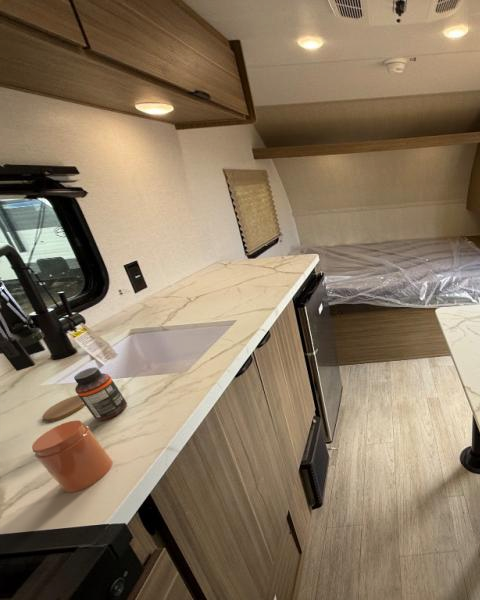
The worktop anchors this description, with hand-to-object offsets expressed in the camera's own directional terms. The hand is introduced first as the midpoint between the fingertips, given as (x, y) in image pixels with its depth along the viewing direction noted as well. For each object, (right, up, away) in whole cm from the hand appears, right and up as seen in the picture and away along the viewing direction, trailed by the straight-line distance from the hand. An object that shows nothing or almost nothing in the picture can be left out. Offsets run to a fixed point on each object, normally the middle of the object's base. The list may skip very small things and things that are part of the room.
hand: (31, 359), depth 70 cm
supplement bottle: (+15, -13, +3) cm, 20 cm away
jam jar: (+25, -18, -13) cm, 34 cm away
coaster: (+2, -13, +6) cm, 14 cm away
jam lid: (-1, +5, -2) cm, 6 cm away
